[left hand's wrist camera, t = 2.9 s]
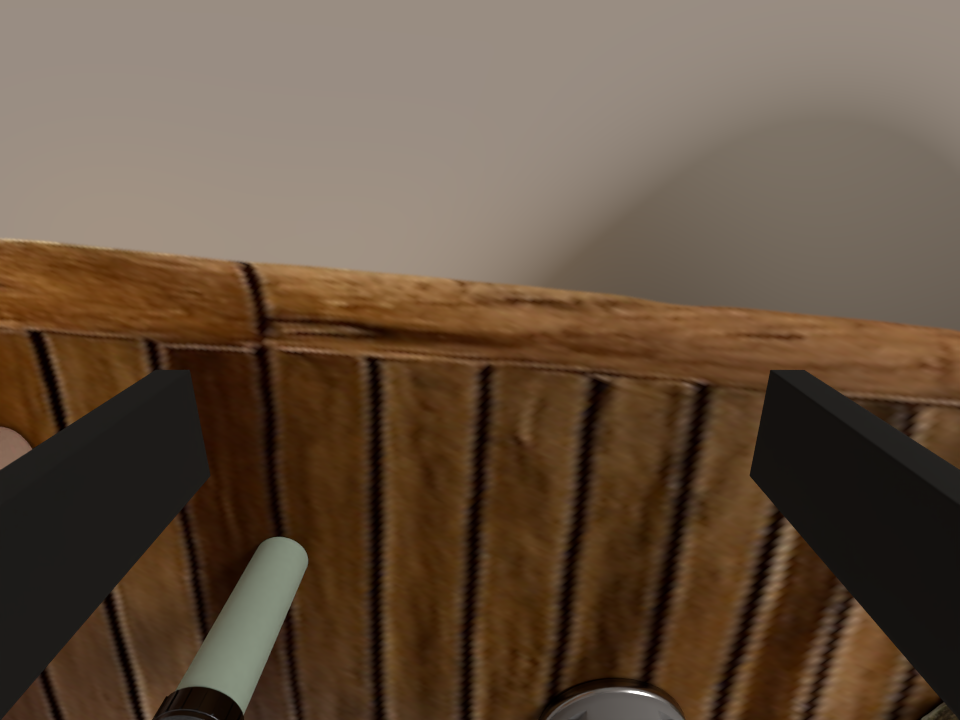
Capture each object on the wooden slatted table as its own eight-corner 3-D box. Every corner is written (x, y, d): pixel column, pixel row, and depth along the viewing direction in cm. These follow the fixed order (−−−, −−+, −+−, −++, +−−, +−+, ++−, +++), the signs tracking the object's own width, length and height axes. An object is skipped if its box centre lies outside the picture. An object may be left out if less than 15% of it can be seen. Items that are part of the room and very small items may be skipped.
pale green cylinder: (245, 548, 48) (137, 726, 33) (290, 529, 47) (200, 702, 32) (274, 585, 49) (183, 773, 34) (317, 567, 49) (244, 751, 33)
